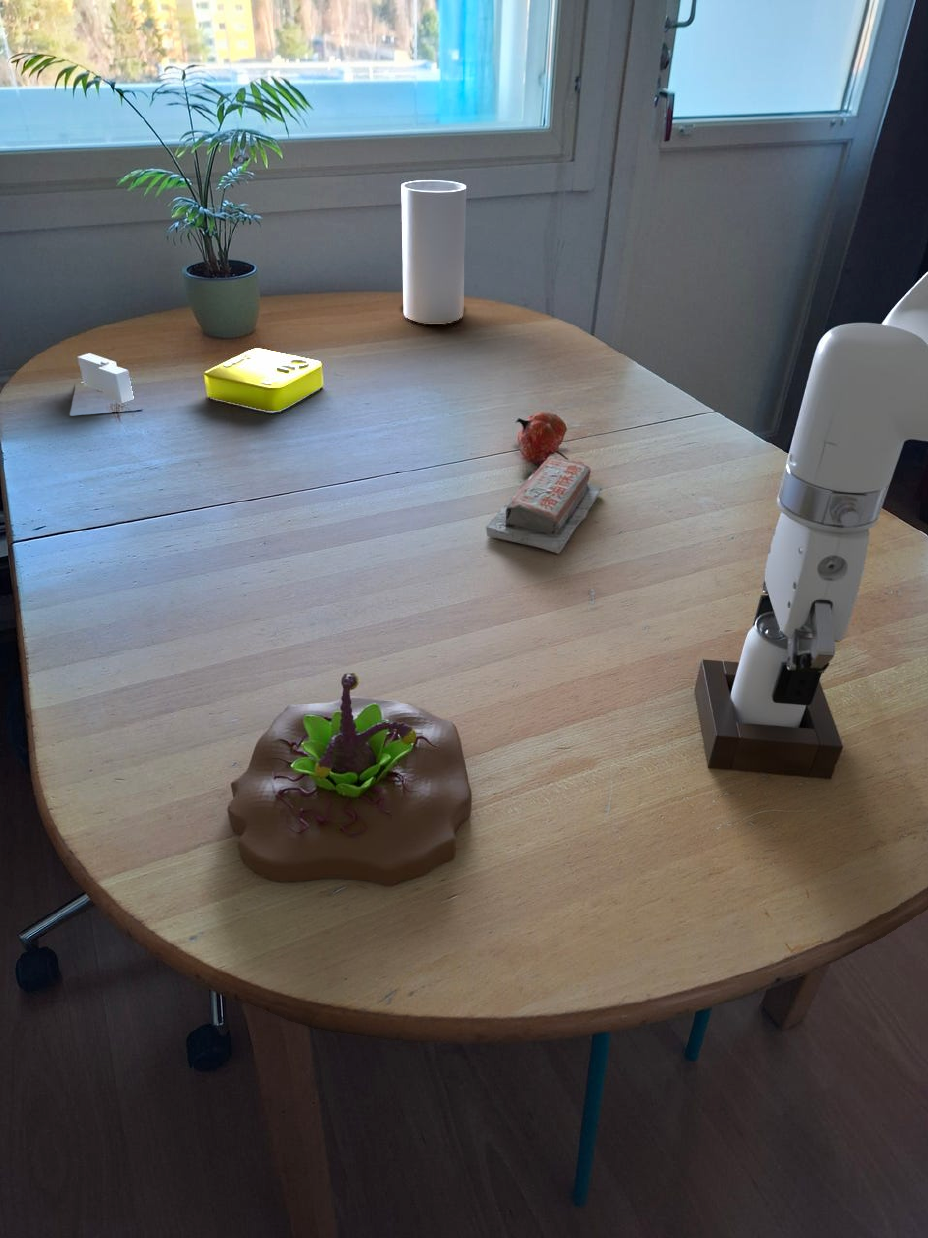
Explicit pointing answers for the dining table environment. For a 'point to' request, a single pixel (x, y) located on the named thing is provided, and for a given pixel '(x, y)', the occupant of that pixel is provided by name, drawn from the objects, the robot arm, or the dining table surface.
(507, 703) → the dining table surface
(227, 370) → the element tile
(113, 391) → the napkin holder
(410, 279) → the cylinder vase
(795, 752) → the socket block
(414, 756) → the plant
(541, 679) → the dining table surface
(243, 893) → the dining table surface
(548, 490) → the packaged product
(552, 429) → the pomegranate
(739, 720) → the can
